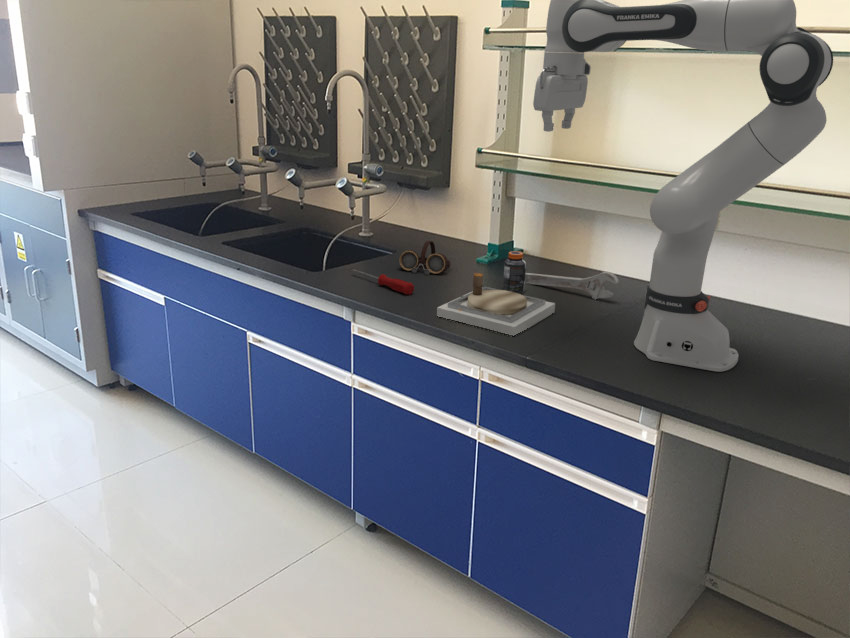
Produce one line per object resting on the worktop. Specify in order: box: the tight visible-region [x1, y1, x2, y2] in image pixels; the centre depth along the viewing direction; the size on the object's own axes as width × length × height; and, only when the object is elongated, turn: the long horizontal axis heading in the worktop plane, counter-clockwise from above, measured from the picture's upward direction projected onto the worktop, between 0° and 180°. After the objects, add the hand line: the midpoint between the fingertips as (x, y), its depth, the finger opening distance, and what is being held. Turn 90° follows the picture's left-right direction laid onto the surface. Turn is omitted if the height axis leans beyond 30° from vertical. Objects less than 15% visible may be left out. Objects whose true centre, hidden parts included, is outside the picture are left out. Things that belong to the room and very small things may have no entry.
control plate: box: [436, 286, 556, 336], centre depth 183 cm, size 22×22×4 cm
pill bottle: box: [502, 250, 527, 294], centre depth 201 cm, size 6×6×11 cm
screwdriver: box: [352, 269, 415, 296], centre depth 205 cm, size 4×25×4 cm, turn 45°
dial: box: [468, 272, 527, 314], centre depth 182 cm, size 15×15×7 cm
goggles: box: [398, 240, 452, 275], centre depth 221 cm, size 15×13×10 cm
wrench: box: [525, 271, 619, 301], centre depth 202 cm, size 8×2×30 cm
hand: (557, 129), depth 166 cm, fingers open, 8 cm apart
